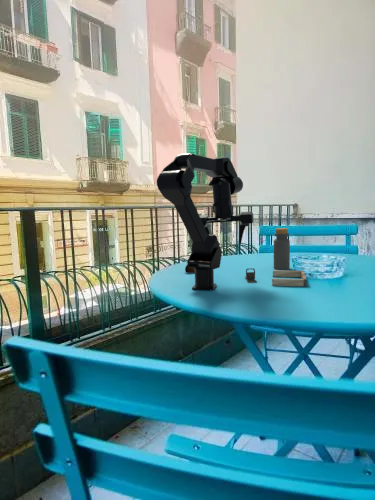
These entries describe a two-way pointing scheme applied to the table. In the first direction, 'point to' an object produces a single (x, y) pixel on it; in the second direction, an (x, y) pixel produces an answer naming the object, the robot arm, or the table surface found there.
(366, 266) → the table surface
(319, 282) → the table surface
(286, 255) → the bottle
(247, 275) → the strap clip
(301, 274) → the display frame
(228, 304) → the table surface
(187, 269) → the sweet potato
